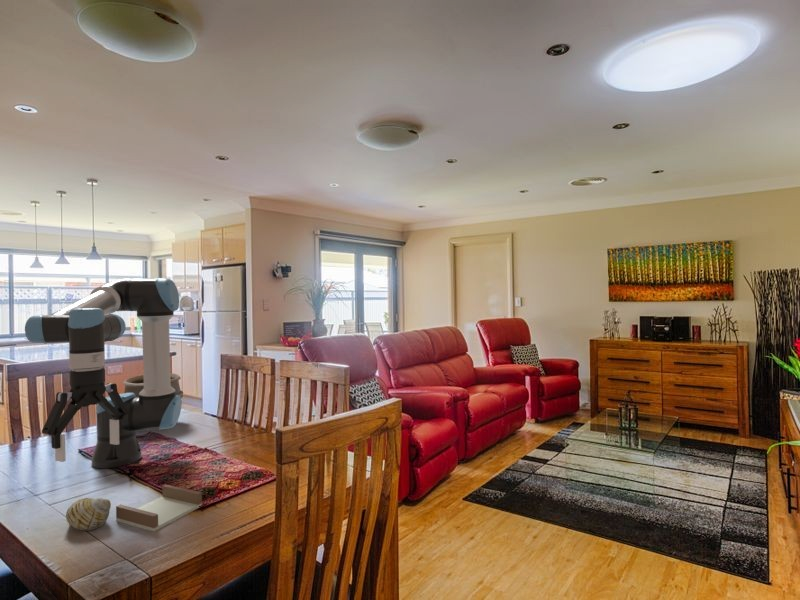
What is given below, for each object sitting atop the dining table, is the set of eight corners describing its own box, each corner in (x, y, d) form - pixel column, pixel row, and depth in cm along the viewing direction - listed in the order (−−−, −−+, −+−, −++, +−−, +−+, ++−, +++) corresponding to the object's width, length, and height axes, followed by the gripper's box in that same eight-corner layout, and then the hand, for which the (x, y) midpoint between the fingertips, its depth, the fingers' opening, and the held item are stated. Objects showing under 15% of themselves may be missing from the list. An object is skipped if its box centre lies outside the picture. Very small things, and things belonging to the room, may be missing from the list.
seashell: (72, 515, 123) (91, 480, 124) (107, 530, 124) (125, 495, 125) (48, 532, 113) (69, 494, 114) (86, 548, 114) (106, 510, 115)
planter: (195, 422, 214) (195, 374, 214) (148, 436, 193) (148, 383, 192) (157, 416, 225) (157, 371, 224) (109, 429, 203) (108, 379, 203)
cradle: (116, 520, 121) (116, 506, 121) (166, 497, 135) (165, 484, 135) (154, 531, 115) (153, 516, 115) (201, 505, 129) (201, 492, 129)
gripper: (42, 378, 105) (44, 471, 105) (142, 362, 128) (143, 439, 128) (22, 376, 108) (24, 466, 108) (123, 361, 131) (125, 436, 131)
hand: (88, 452), depth 118 cm, fingers open, 13 cm apart
